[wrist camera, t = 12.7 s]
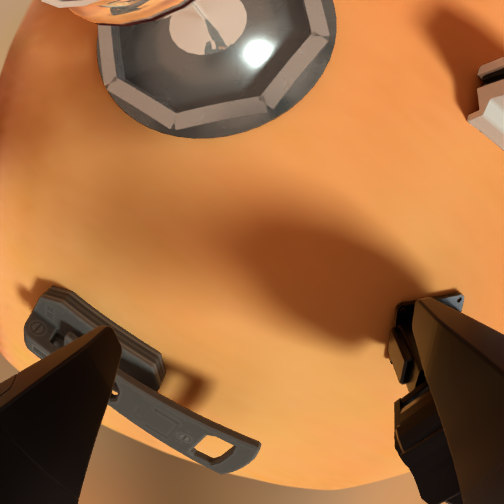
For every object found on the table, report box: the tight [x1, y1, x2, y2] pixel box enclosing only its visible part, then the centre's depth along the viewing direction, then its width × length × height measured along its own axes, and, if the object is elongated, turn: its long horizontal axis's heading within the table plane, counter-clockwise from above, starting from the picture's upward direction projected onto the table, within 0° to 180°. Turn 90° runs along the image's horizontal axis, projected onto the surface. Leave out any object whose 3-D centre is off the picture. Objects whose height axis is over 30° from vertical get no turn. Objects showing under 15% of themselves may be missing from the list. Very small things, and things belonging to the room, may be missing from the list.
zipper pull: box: [24, 286, 261, 474], centre depth 25 cm, size 9×7×25 cm
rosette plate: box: [97, 0, 336, 138], centre depth 14 cm, size 16×16×2 cm
